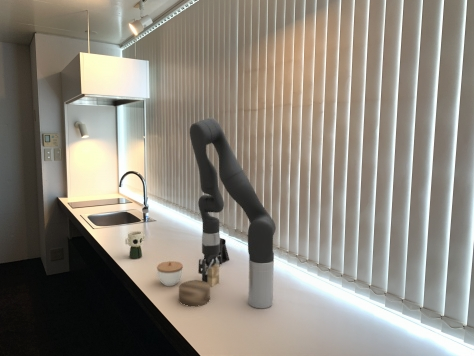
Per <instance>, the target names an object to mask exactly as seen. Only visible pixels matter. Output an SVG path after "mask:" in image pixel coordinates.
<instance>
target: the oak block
mask: <svg viewBox="0 0 474 356" xmlns="http://www.w3.org/2000/svg"><path fill="white" fill-rule="evenodd" d="M205 266H207V265H205ZM207 267H208V266H207ZM205 271H206V269H205ZM207 274H208V282H207V283H209V284H210V288H212V287H215V286H217V285H218V284H220V267H219V265H217V264H215V265H212V266H211V268H210V269H209V270H208V273H207Z"/></svg>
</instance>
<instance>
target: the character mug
mask: <svg viewBox="0 0 474 356" xmlns="http://www.w3.org/2000/svg"><path fill="white" fill-rule="evenodd" d="M145 240H146V235H145V234H143V232H142V231H140V230H135V231H129V232H128V233H127V237H125V245H128V246H129V247H130V248H129V258H131V259H139V258H142V257H143V252H142V247H141V246H142V245H143V241H145Z"/></svg>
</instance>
